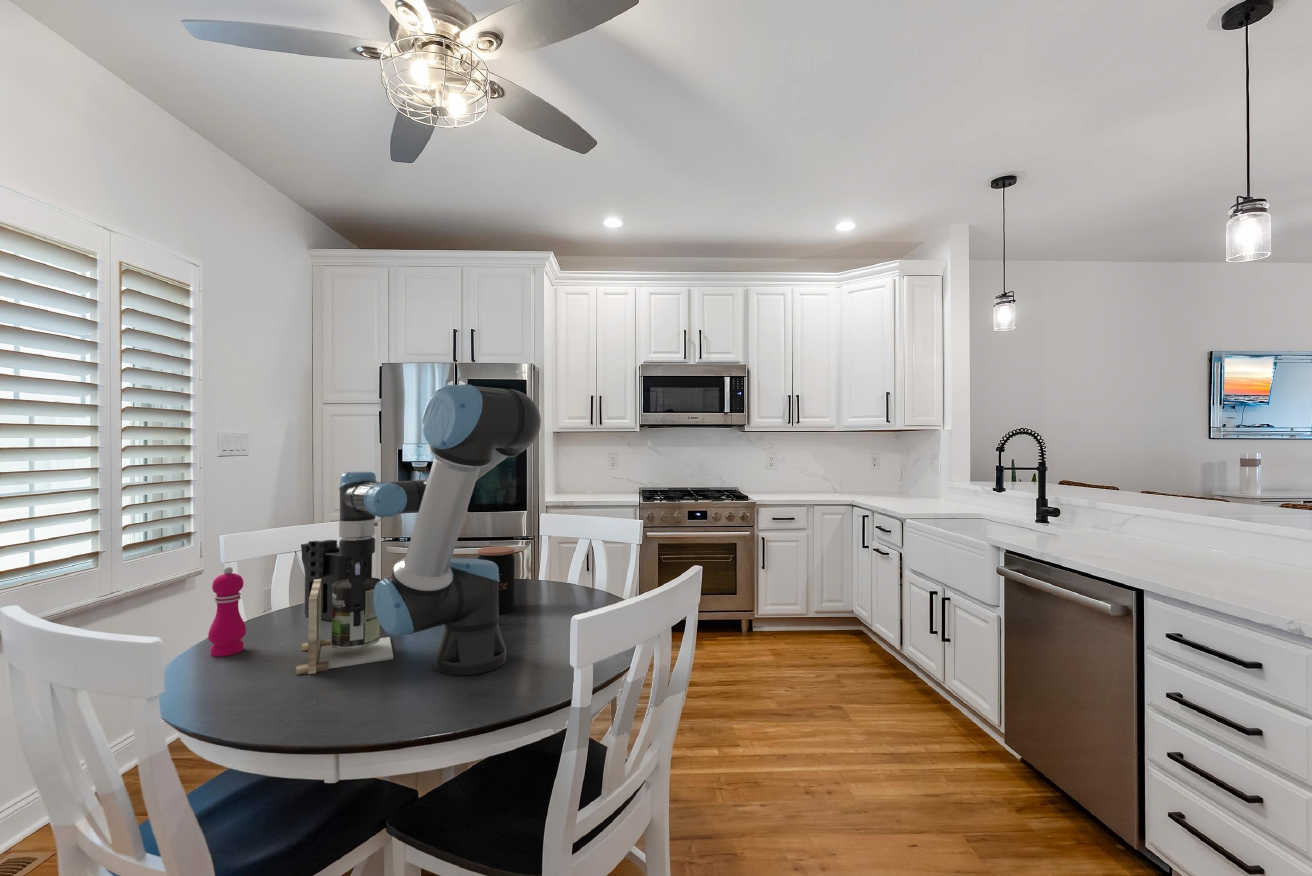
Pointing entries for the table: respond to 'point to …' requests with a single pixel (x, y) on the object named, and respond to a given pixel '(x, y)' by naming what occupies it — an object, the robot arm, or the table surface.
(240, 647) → the pepper mill
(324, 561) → the black machined bracket
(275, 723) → the table surface
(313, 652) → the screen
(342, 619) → the coffee can
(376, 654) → the mat
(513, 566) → the coffee jar
